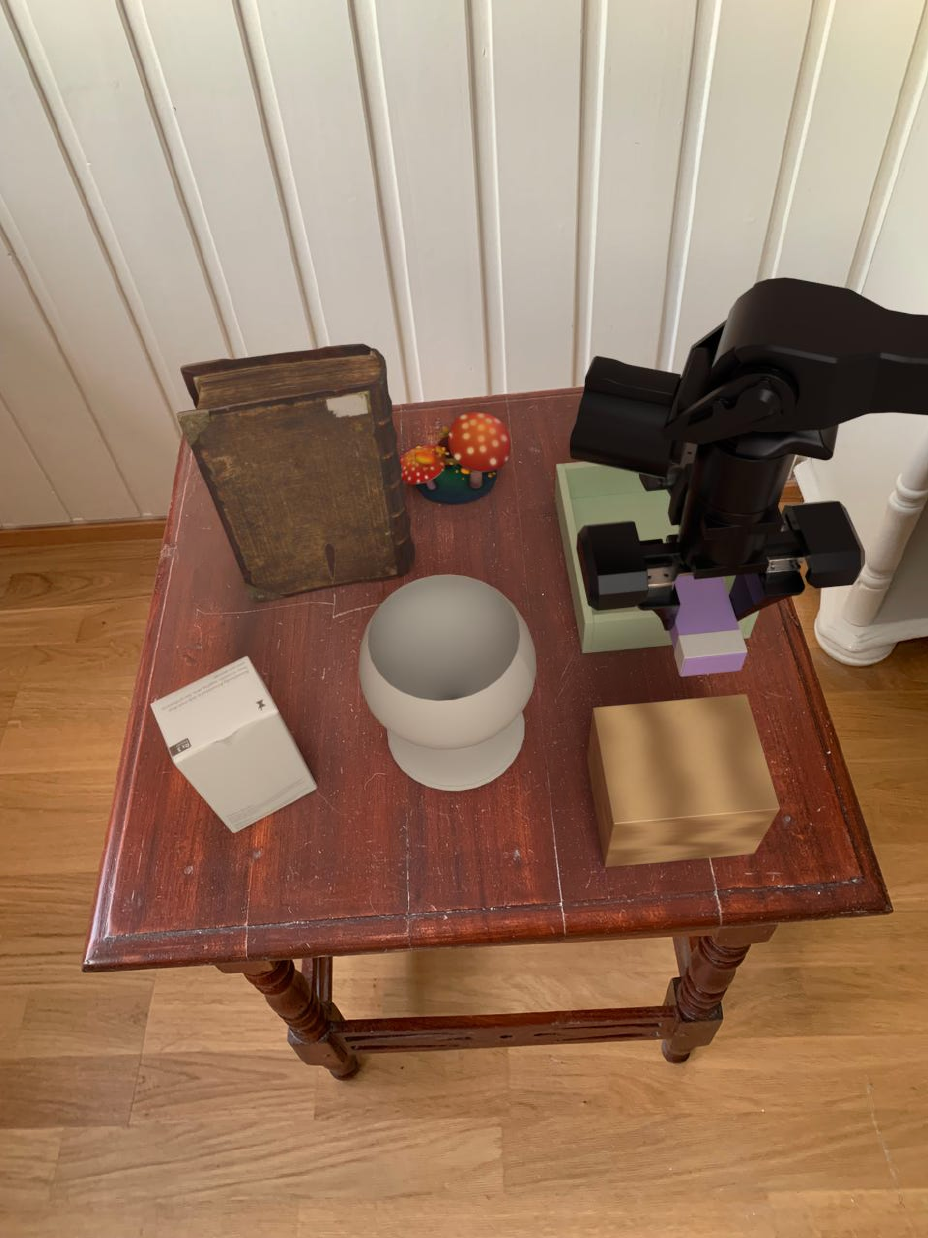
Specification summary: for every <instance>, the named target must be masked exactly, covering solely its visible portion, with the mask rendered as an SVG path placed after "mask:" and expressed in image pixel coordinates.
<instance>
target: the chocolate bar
mask: <svg viewBox="0 0 928 1238" xmlns="http://www.w3.org/2000/svg"><path fill="white" fill-rule="evenodd" d="M675 586H676V590H677V593H678V597H679V601H680V604H681V605H680V608H679V612H678V615H677V618H676V621H675V624H674V626H673V627H672V629H671V630H670V631H669V634H670V638H671V641H672V645H671V646H672V647H673V648H672V649H673V652H674V653H673V655H674V659H675V663H676V668H677V671H678V675H679V676H680V677H692V676H701V675H710V674H711V675H712V674H719V673H720V674H722V673H731V672H741V670H742V668H743V665H744V663H745V660H746V657H747V654H748V652H749V651H748V648H747V646H746V642H745V640H744V639H743V636H742V633H741V630H740V629H739V626H738V623H737V620H736V617H735V614H734V611H733V608H732V605H731V602H730V599H729V595H728V592H727V589H726V586H725V583H724V580H723V577H716V578H706V579H696V580H694V577H693V575H692V576H682V577H678V578H677V579H676V582H675Z"/></svg>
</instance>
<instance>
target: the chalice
mask: <svg viewBox="0 0 928 1238" xmlns="http://www.w3.org/2000/svg"><path fill="white" fill-rule="evenodd" d="M374 611H375V612H374V613H373V614H372V616H371V618H370V619H369V621H368V622H367V625H366V626H365V627H366V628H365V631H364V634H363V636H362V639H361V642H360V646H359V656H358V657H359V658H358V679H359V683H360V688H361V693H362V695H363V698H364V699H365V702H366V704H367V706H368V708H369V710H370V712H371V714H372V715H373V716H374V717H375V718H376V719H377V721H379V723H380V724H381V725H382V727H384V728H385V729H386V735H387V742H388V748H389V750H390V752H391V755H392V757H393V760H394V761H395V762H396V763H397V765H398V766H399V768H400V769H401V770H402V771H403V772H404V773H405V774H407V776H409V777H410V778H411V779H412V780H414V781H416V782H417V783H420V784H422V785H424V786H426V787H428V788H432V789H436V790H439V791H449V792H461V791H467V790H473V789H477V788H479V787H481V786H484V785H486V784H489V783H491V782H492V781H494V780H496V779H497V778H498V777H499V776H501V775H503V774H504V773H505V772H506V771H507V770H508V769H509V767H510V766H511V765H512V764H513V763H514V761H515V760H516V759H517V756H518V755H519V753H520V751H521V750H522V746H523V743H524V738H525V724H526V723H525V717H524V714H523V711H524V710H525V708H526V706H527V704H528V702H529V700H530V699H531V696H532V694H533V690H534V686H535V683H536V677H537V656H536V653H537V652H536V647H535V644H534V641H533V639H532V638H533V637H532V636H531V633H530V629H529V627H528V625H527V622H526V621H525V619H524V617H522V615H521V613H520V612H519V610H518V609H517V607H516V605H515V604H514V603H513V602H512V601H511V600H510V599H508V597H506V596H505V595H504V594H503V593H502V592H501V591H500V590H498V589H497V588H496V587H494V586H492V585H490V584H488V583H487V582H484V580H483V581H482V580H480V579H477V578H473V577H470V576H467V575H460V574H451V573H450V574H433V575H429V576H426V577H421V578H418V579H415V580H413V581H411V582H408V583H406V584H403V585H402V586H401V587H399V588H398V589H396V590H395V591H393V592H392V593H390V594H389V595H388V596H387V597H386V598H385V599H384V600H383V601H382V602H381V603H380V604H379V605H378V607H376V610H374Z"/></svg>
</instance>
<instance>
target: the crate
mask: <svg viewBox="0 0 928 1238" xmlns="http://www.w3.org/2000/svg"><path fill="white" fill-rule="evenodd" d="M586 763H587V770H588V775H589V782H590V787H591V793H592V800H593V805H594V811H595V812H594V813H595V818H596V824H597V831H598V835H599V841H600V847H601V853H602V860H603V866H604V867H605V868H612V867H613V868H614V867H624V866H634V865H643V864H644V865H645V864H657V863H668V862H669V863H670V862H679V861H691V860H701V859H711V858H713V859H714V858H723V857H724V858H725V857H735V856H745V855H754V854H755V853H756V851H757V850H758V848H759V847H760V844H761V843H762V841H763V839H764V838H765V836H766V835H767V832H768V830H769V829H770V827H771V825H772V824H773V822H774V821H775V819H776V817H777V815H778V814H779V812H780V810H781V807H780V803H779V800H778V797H777V793H776V790H775V787H774V783H773V779H772V776H771V773H770V770H769V766H768V763H767V760H766V756H765V752H764V749H763V746H762V743H761V739H760V735H759V732H758V728H757V725H756V722H755V719H754V714H753V711H752V708H751V704H750V701H749V697H748V694H747V693H742V694H731V695H730V694H729V695H719V696H710V697H709V696H708V697H698V698H686V699H674V700H665V701H653V702H643V703H630V704H620V705H619V704H618V705H609V706H599V707H593V708H592V714H591V722H590V731H589V738H588V746H587V755H586Z"/></svg>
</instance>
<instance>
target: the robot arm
mask: <svg viewBox="0 0 928 1238" xmlns="http://www.w3.org/2000/svg"><path fill="white" fill-rule="evenodd" d="M583 383H584V385H583V392H582V396H581V399H580V402H579V406H578V411H577V415H576V420H575V424H574V425H573V428H572V431H571V434H570V437H569V457H570V459H571V460H575V461H578V462H588V463H593V464H597V465H602V466H607V467H611V468H616V469H620V470H625V471H630V472H634V473H638V474H639V479H640V481H641V483H642V485H643V487H644V489H645V490H646V491H647V492H649V491H659V490H667V492H668V493H669V495H670V497H671V498H670V503H669V508H668V516H669V520H670V523H671V526H674V525H678V526H679V531H678V534H672V535H667V537H666V543H663V539H652V540H642V541H640V540H639V536H638V532H637V528H636V524H635V522H634V521H622V522H612V523H602V524H592V525H584V526H583V527H582V529H581V530H580V531H579V533H578V534H577V546H576V550H577V555H578V559H579V564H580V569H581V574H582V579H583V584H584V589H585V594H586V599H587V604H588V606H590V607H592V608H593V609H595V610H597V611H602V610H612V609H622V608H632V607H636V606H637V607H638V608H639V609H640V610H643V611H650V610H651V611H653V612H654V613H655V614H656V615H657V616H658V617H659V618H660V619H661V621H662V624H663V627H664V629H665V631H670V630H671V629H672V627H673V626H674V624H675V621H676V618H677V615H678V612H679V608H680V605H681V604H680V601H679V597H678V593H677V590H676V586H675V582H676V579H677V578H678V577H682V576H692V575H693V577H694V580H696V579H706V578H716V577H726V576H736V577H735V579H734V582H733V585H732V588H731V590H730V593H729V599H730V602H731V605H732V608H733V611H734V614H735V617H736V620H737V622H738V621H740V620H742V619H744V618H746V617H748V616H749V615H751V614H753V613H755V612H757V611H759V612H760V611H761V610H764V609H766V608H768V607H769V606H772V605H774V604H776V603H779V602H780V601H784V600H786V599H789V598H790V597H797V596H800V595H802V594H804V592H805V590H806V584H808V585H809V586H811V587H812V588H813V589H815V590H816V589H817V590H818V589H819V590H820V589H826V588H829V589H830V588H837V587H849V586H853V585H854V584H855V583H856V581H857V580H858V579H859V577H860V575H861V573H862V572H863V569H864V567H865V565H866V550H865V548H864V546H863V543H862V541H861V539H860V536H859V534H858V531H857V530H856V527H855V525H854V523H853V521H852V519H851V516H850V514H849V511H848V509H847V507H846V506H845V505H844V504H843V503H842V502H841V501H840V500H832V499H829V500H820V501H811V502H801V503H792V504H791V503H790V504H784V506H783V508H782V511H781V510H780V507H779V505H780V502H781V500H782V496H783V493H784V490H785V488H786V484H787V482H788V479H789V475H790V472H791V469H792V467H793V464H794V462H795V458H796V456H799V457H803V458H804V457H806V458H810V459H814V460H820V461H825V462H826V461H830V460H832V458H833V457H834V453H835V449H836V444H837V437H838V432H839V427H840V425H841V424H844V423H847V422H849V421H852V420H854V419H855V420H856V419H857V418H861V417H863V416H866V415H874V414H875V415H876V414H903V415H904V414H905V415H915V416H919V415H920V416H928V314H922V313H921V314H918V313H909V312H903V311H898V310H892V309H889V308H886V307H883V306H882V305H880V304H879V303H877V302H875V301H872V300H871V299H869V298H867V297H866V296H863V295H862V294H860V293H858V292H857V291H855V290H853V289H851V288H848V287H843V286H837V285H833V284H827V283H821V282H816V281H811V280H805V279H799V278H795V277H785V276H784V277H775V278H767V279H763V280H761V281H758V282H755V283H754V284H753V285H752V286H751V288H749V289H748V290H746V291H745V292H744V293H743V294H741V295H740V296H739V297H737V299H736V301H735V302H734V303H733V305H732V306H731V307H730V310H729V312H728V314H727V318H726V319H725V320H724V321H723V322H721V323H720V324H718V325H717V326H716V327H715V328H713V329H712V330H710V331H709V332H708V333H707V334H705V335H704V336H703V337H701V338H700V339H699V340H697V341H696V342H694V343H693V344H692V345H691V347H690V349H689V353H688V355H687V358H686V361H685V364H684V366H683V369H682V373H676V372H671V371H665V370H660V369H656V368H655V369H654V368H651V367H650V368H649V367H644V366H639V365H633V364H630V363H626V362H623V361H621V360H618V359H615V358H612V357H605V356H601V355H595V356H594V357H592V359H591V362H590V365H589V367H588V369H587V371H586V373H585V376H584V382H583ZM804 562H805V564H806V566H807V570H806V572H805V575H804V578H805V580H806V584H805V580H804V579H803V575H802V573H801V569H802V565H801V564H804Z"/></svg>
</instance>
